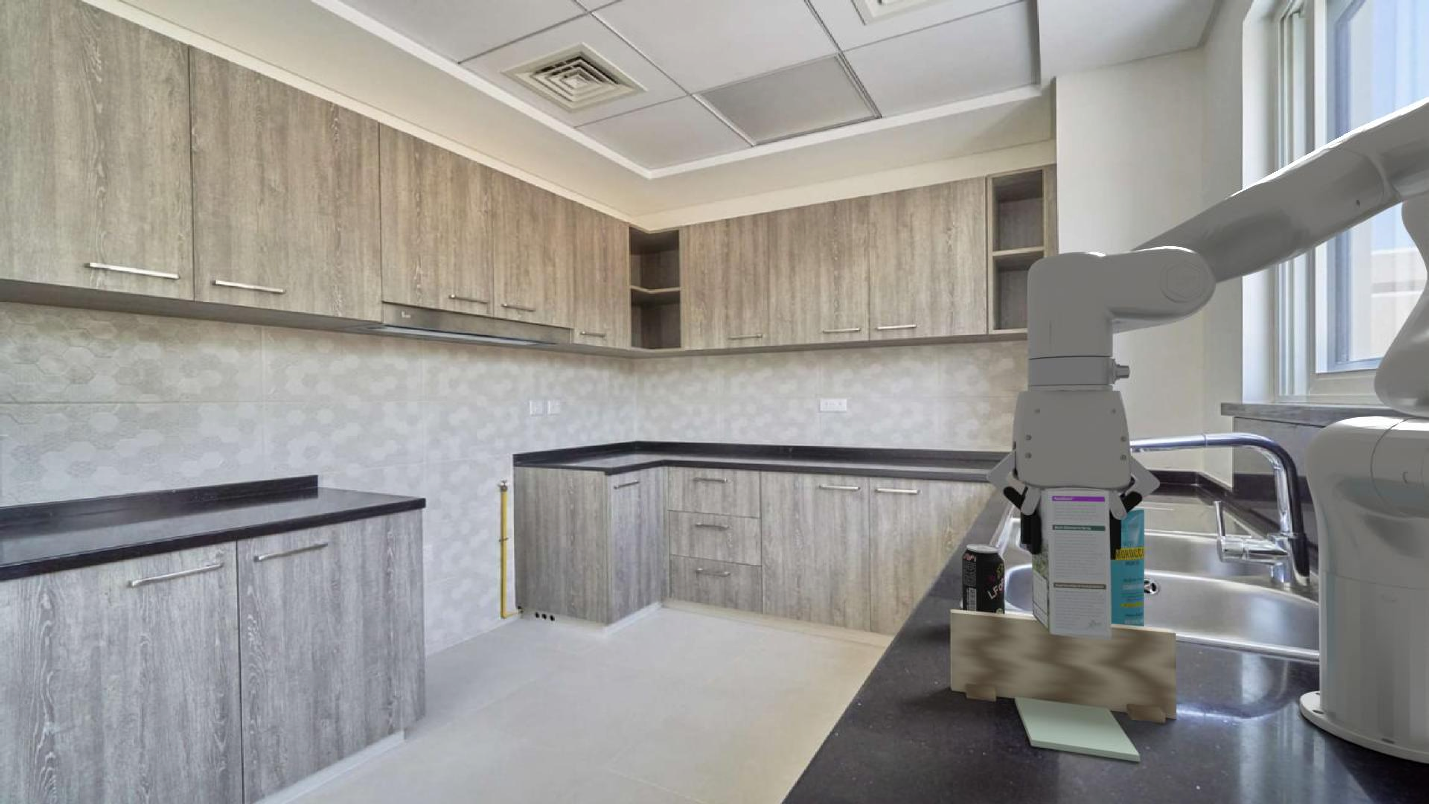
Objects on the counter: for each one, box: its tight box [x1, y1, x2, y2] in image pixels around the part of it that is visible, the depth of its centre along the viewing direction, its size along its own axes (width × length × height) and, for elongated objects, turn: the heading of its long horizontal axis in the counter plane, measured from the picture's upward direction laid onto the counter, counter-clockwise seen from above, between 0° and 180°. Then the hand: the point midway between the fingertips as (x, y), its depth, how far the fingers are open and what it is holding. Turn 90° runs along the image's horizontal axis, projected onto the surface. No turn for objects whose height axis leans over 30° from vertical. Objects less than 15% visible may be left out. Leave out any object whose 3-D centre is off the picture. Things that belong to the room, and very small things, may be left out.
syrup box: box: [1031, 487, 1111, 639], centre depth 61 cm, size 6×6×14 cm
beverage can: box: [961, 543, 1006, 614], centre depth 89 cm, size 6×6×12 cm
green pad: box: [1014, 697, 1141, 763], centre depth 61 cm, size 9×9×1 cm
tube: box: [1110, 508, 1146, 627], centre depth 79 cm, size 7×5×19 cm, turn 111°
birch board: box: [949, 608, 1178, 724], centre depth 67 cm, size 22×4×9 cm, turn 73°
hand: (1069, 552), depth 61 cm, fingers closed on syrup box, 6 cm apart
